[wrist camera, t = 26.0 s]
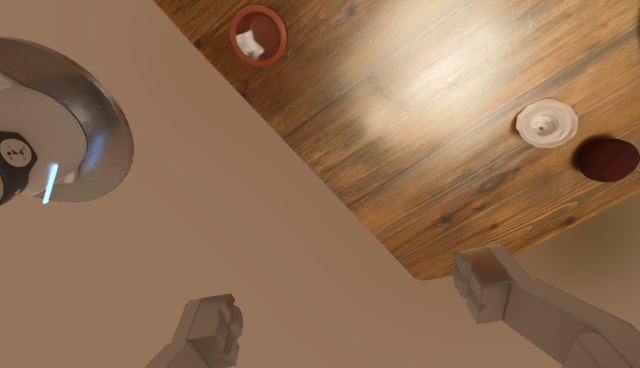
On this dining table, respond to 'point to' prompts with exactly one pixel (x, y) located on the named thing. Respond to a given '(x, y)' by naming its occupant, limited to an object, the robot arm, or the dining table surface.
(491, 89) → the dining table surface
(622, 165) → the dark maroon ball
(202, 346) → the robot arm
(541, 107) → the seashell
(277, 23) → the utensil pot
